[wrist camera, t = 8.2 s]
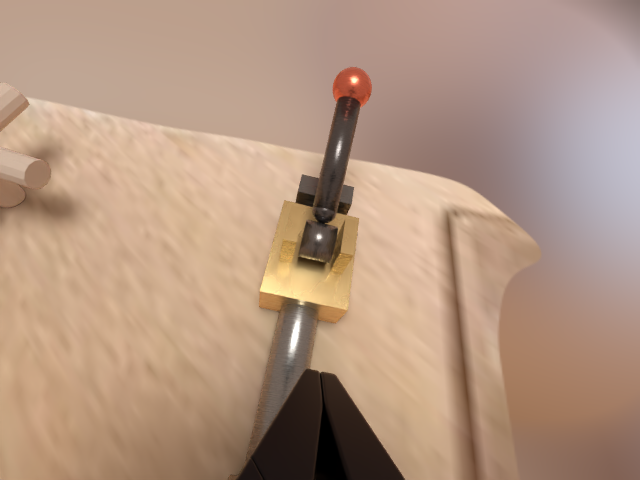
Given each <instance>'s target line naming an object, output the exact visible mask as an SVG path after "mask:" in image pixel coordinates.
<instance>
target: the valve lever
mask: <svg viewBox="0 0 640 480" xmlns="http://www.w3.org/2000/svg"><path fill="white" fill-rule="evenodd" d="M371 90H372V85H371V81H370V78H369V76H368V75H367V73H366V72H365V71H363V70H362V69H360V68H356V67H350V68H347V69H344V70H342V71H341V72H340V73H339V74H338V75H337V77H336V78H335V80H334V83H333V95H334V98H335V101H336V102H337V104H336V108H335V112H334V116H333V121H332V125H331V130H330V134H329V139H328V143H327V147H326V152H325V155H324V160H323V164H322V169H321V173H320V177H319V182H318V186H317V190H316V195H315V199H314V203H313V208H312V214H313V217H314V218H315V220H316V221H318V222H316V221H312V220H308V219H307V220H306V223H305V227H304V231H303V235H302V239H301V244H300V248H299V253H298V256H299V257H303V258H308V259H312V260H316V261H321V262H325V263H330V261H331V258H332V256H333V252H334V249H335V244H336V240H337V233H338V227H337V226H333V225H329V224H325V223H329V222H331V221H333V220H334V219H335V217H336V214H337V210H338V206H339V201H340V197H341V192H342V188H343V183H344V179H345V174H346V170H347V165H348V160H349V156H350V151H351V147H352V142H353V138H354V133H355V129H356V124H357V120H358V115H359V111H360V108H361V107H362V106H363V105H365V104H366V102H367V101H368V100H369V97H370V95H371Z"/></svg>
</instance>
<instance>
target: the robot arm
mask: <svg viewBox="0 0 640 480" xmlns="http://www.w3.org/2000/svg"><path fill="white" fill-rule="evenodd" d="M235 480H405V479H404V477H403V476H402V474H401V473H400V471H399V470H398V468H397V467H396V465H395V464H394V462H393V461H392V459H391V458H390V456H389V455H388V453H387V452H386V450H385V448H384V447H383V445H382V444H381V442H380V441H379V439H378V438H377V436H376V435H375V433H374V432H373V430H372V429H371V427H370V426H369V424H368V423H367V421H366V420H365V418H364V417H363V415H362V414H361V412H360V411H359V409H358V408H357V406H356V405H355V403H354V402H353V400H352V399H351V397H350V396H349V394H348V393H347V391H346V390H345V388H344V387H343V385H342V384H341V382H340V381H339V379H338V378H337V376H336V375H335V374H331V373H326V372H321V373H320V372H319V371H316V370H311V369H305V370H304V371H303V373H302V374H301V376H300V377H299V379H298V381H297V382H296V384H295V385H294V387H293V389H292V390H291V392H290V393H289V395H288V397H287V398H286V400H285V401H284V403H283V405H282V406H281V408H280V409H279V411H278V413H277V414H276V416H275V417H274V419H273V421H272V422H271V424H270V425H269V427H268V429H267V430H266V432H265V433H264V435H263V437H262V438H261V440H260V441H259V443H258V445H257V446H256V448H255V449H254V451H253V453H252V454H251V456H250V459H248V460H247V462H246V463H245V465H244V467H243V468H242V470H241V471H240V473H239V474H238V476H237V477H236V479H235Z"/></svg>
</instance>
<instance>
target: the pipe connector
mask: <svg viewBox="0 0 640 480" xmlns="http://www.w3.org/2000/svg"><path fill="white" fill-rule="evenodd" d="M28 106H29V102H28V100H27V99H26V98H25V97H24V95H23V94H21V92H19V91H18V90H16V89H15V88H14V87H12V86H10V85H8V84H6V83H1V82H0V131H2V130H3V129H4V128H5V127H6V126H7V125H8V124H9V123H10V122H11V121H13V120H14V119H15V118H16V117H17V116H18V115H19V114H20V113H21V112H22V111H24V110H25V109H26V108H27V107H28ZM50 177H51V169H50V167H49V164H48V163H46V162H45V161H43V160H40V159H37V158H34V157H31V156H28V155H25V154H21V153H18V152H15V151H12V150H9V149H6V148H3V147H0V207H4V208H9V207H14V206H16V205H18V204H20V203H21V202H22V201H23V200H24V199H25V196H26V194H25V191H24V190H23V189H22V188H21V187H20V186H19V185H21V186H24V187H28V188H31V189H41V188H42V187H44V186H45V185H46V184H47V183H48V181H49V179H50Z"/></svg>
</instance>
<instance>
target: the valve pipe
mask: <svg viewBox="0 0 640 480" xmlns="http://www.w3.org/2000/svg"><path fill="white" fill-rule="evenodd" d="M318 182H319V178H315V177H311V176H307V175H303V174H302V177H301V181H300V185H299V189H298V194H297V199H296V203H293V202H289V201H285V200H284V204H283V207H282V211H281V215H280V219H279V222H278V226H277V230H276V233H275V237H274V241H273V244H272V248H271V252H270V256H269V259H268V263H267V267H266V270H265V274H264V278H263V281H262V285H261V289H260V299H259V307H261V308H266V309H270V310H275V311H280V314H279V318H278V322H277V327H276V331H275V335H274V340H273V344H272V348H271V353H270V357H269V361H268V366H267V370H266V375H265V379H264V383H263V388H262V392H261V396H260V401H259V405H258V409H257V414H256V418H255V422H254V427H253V431H252V435H251V440H250V444H249V448H248V453H247V457H246V461H245V463H246V462H247V460H248V459H250V456H251V454H252V453H253V451H254V449H255V448H256V446H257V445H258V443H259V441H260V440H261V438H262V437H263V435H264V433H265V432H266V430H267V429H268V427H269V425H270V424H271V422H272V421H273V419H274V417H275V416H276V414H277V413H278V411H279V409H280V408H281V406H282V405H283V403H284V401H285V400H286V398H287V397H288V395H289V393H290V392H291V390H292V389H293V387H294V385H295V384H296V382H297V381H298V379H299V377H300V376H301V374H302V373H303V371H304V370H305V369H309V368H310V362H311V356H312V350H313V345H314V339H315V333H316V327H317V321H318V320H322V321H326V322H331V323H336V322H337V321H338V320H339V319H340V318H341V317H342V316H343V315H344V314H345V313H346V312H347V310H348V303H349V295H350V287H351V279H352V271H353V263H354V255H355V247H356V239H357V231H358V223H359V218H356V217H351V216H347V213H348V211H349V209H350V206H351V204H352V197H353V190H354V187H351V186H347V185H343V188H342V192H341V197H340V201H339V206H338V210H337V214H336V217H335V219H334V220H333V221H331V222H329V223H325V224H329V225H333V226H337V227H338V233H337V240H336V244H335V249H334V252H333V256H332V258H331V261H330V263H325V262H321V261H316V260H312V259H308V258H303V257H299V256H298V253H299V248H300V244H301V239H302V235H303V231H304V227H305V223H306V220H307V219H308V220H312V221H316V220H315V218H314V217H313V214H312V208H313V203H314V199H315V195H316V190H317V186H318ZM316 222H318V221H316ZM236 477H237V476H234V475H229V477H228V480H235V479H236Z"/></svg>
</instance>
